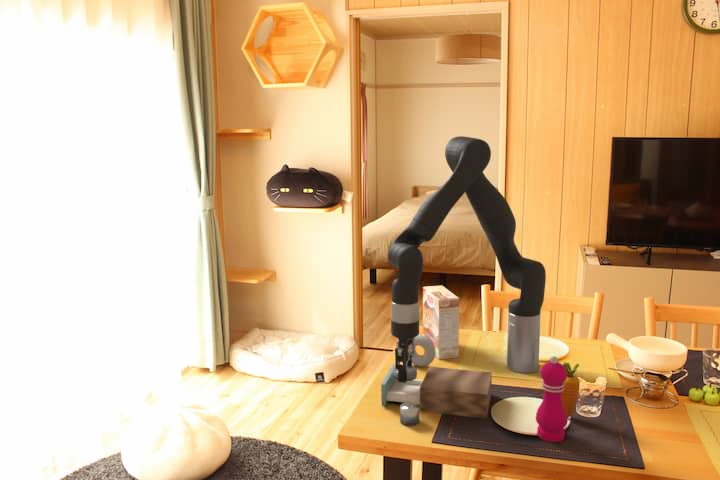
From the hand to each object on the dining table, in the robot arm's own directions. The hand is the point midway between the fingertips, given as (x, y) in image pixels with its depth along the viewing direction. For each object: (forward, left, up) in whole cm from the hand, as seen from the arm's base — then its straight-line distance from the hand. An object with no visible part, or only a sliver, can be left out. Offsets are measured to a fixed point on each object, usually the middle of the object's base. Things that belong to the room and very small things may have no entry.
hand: (405, 376), depth 175 cm
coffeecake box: (-4, -36, -6) cm, 37 cm away
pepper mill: (-38, +12, -6) cm, 40 cm away
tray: (-4, 0, -6) cm, 7 cm away
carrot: (-42, +2, -6) cm, 42 cm away
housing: (-14, 0, -6) cm, 15 cm away
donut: (0, -22, -6) cm, 23 cm away
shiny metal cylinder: (-4, +13, -6) cm, 15 cm away
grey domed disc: (0, 0, 0) cm, 0 cm away
